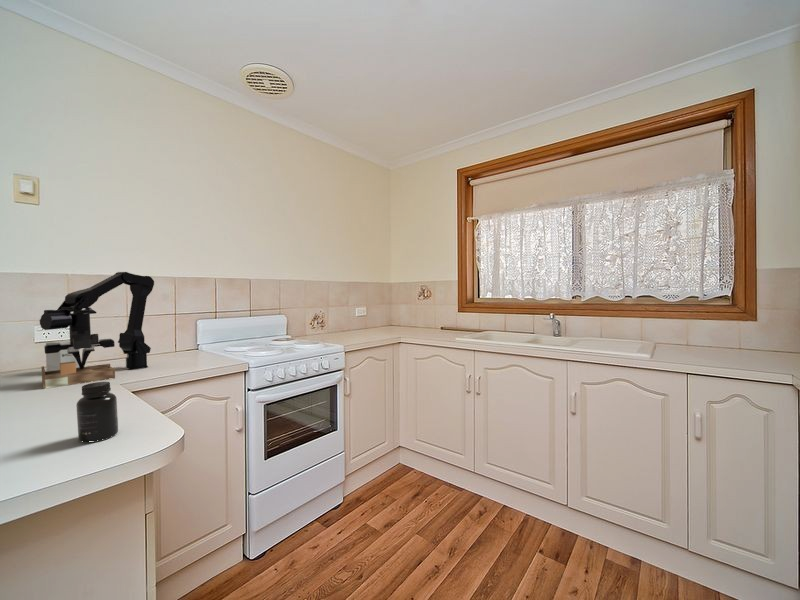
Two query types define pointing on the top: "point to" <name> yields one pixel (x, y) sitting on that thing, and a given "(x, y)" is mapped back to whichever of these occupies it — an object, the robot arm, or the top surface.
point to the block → (67, 367)
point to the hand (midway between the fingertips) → (81, 369)
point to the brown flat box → (77, 376)
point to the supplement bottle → (97, 412)
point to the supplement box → (59, 357)
